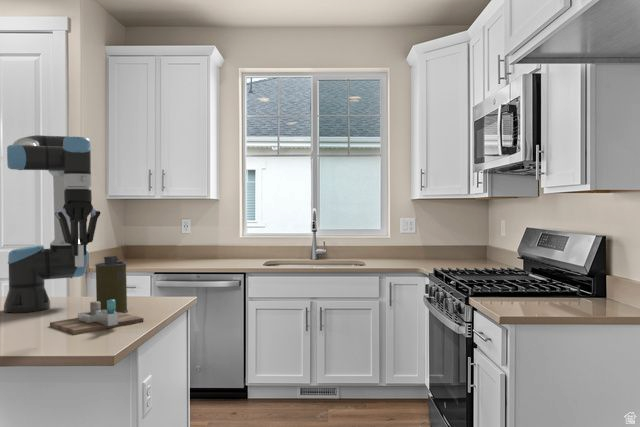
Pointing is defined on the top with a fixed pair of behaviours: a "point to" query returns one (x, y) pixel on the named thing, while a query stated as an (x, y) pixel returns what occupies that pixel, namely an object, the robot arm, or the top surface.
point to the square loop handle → (102, 315)
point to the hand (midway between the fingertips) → (79, 266)
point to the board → (82, 327)
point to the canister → (111, 283)
